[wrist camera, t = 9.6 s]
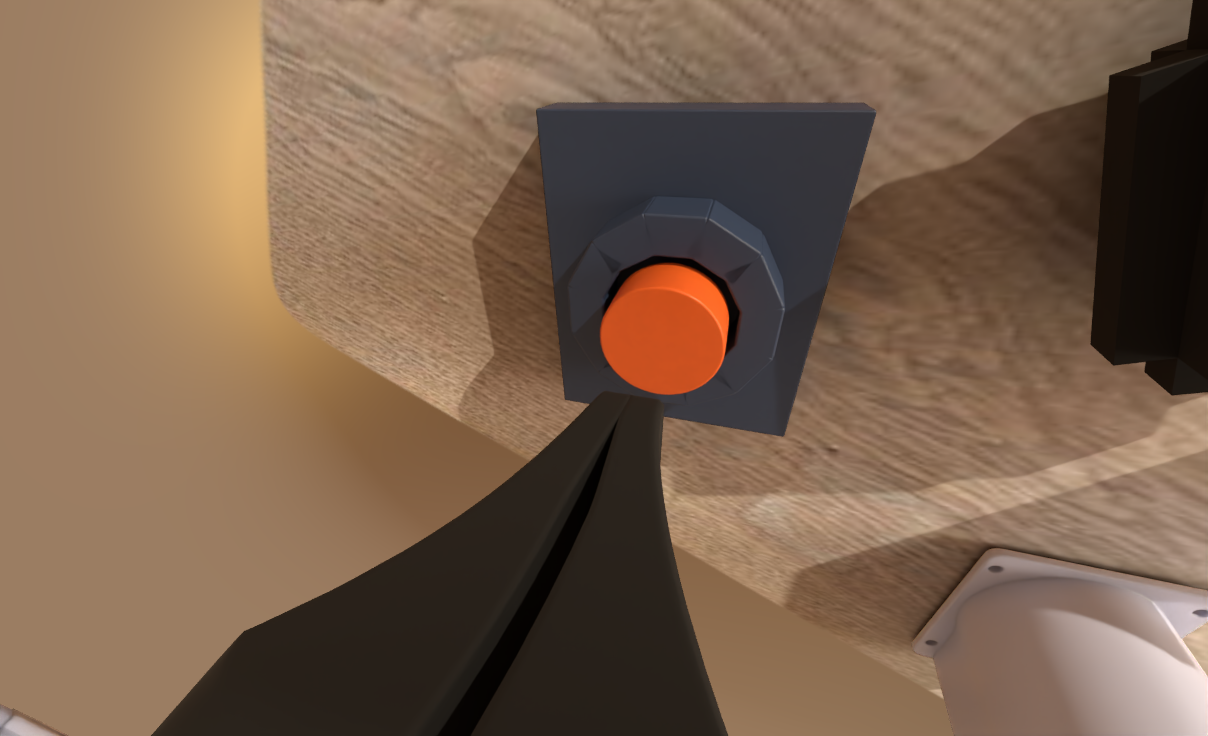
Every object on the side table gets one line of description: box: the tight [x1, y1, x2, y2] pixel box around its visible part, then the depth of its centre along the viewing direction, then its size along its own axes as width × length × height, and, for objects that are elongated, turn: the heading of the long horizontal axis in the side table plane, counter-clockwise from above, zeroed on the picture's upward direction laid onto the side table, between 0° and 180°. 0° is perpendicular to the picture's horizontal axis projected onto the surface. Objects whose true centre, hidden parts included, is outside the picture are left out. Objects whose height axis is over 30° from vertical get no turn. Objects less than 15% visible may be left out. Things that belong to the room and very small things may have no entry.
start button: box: [600, 263, 729, 395], centre depth 13 cm, size 4×4×2 cm
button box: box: [536, 103, 876, 437], centre depth 15 cm, size 11×9×4 cm
